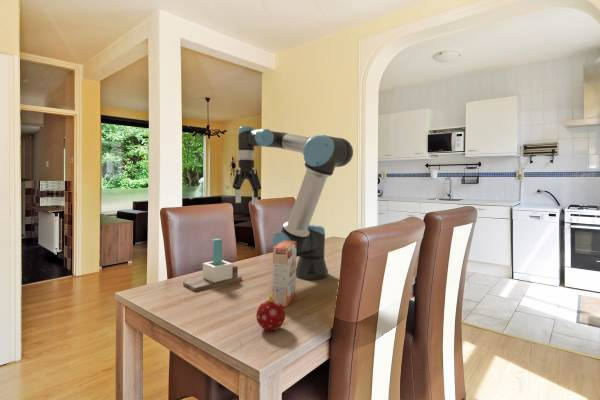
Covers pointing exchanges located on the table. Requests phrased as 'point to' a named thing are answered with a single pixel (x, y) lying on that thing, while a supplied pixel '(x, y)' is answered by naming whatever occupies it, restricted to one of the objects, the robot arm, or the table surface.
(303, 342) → the table surface
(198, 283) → the rail board
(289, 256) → the cracker box
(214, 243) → the dowel
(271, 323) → the christmas ornament
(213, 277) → the block
